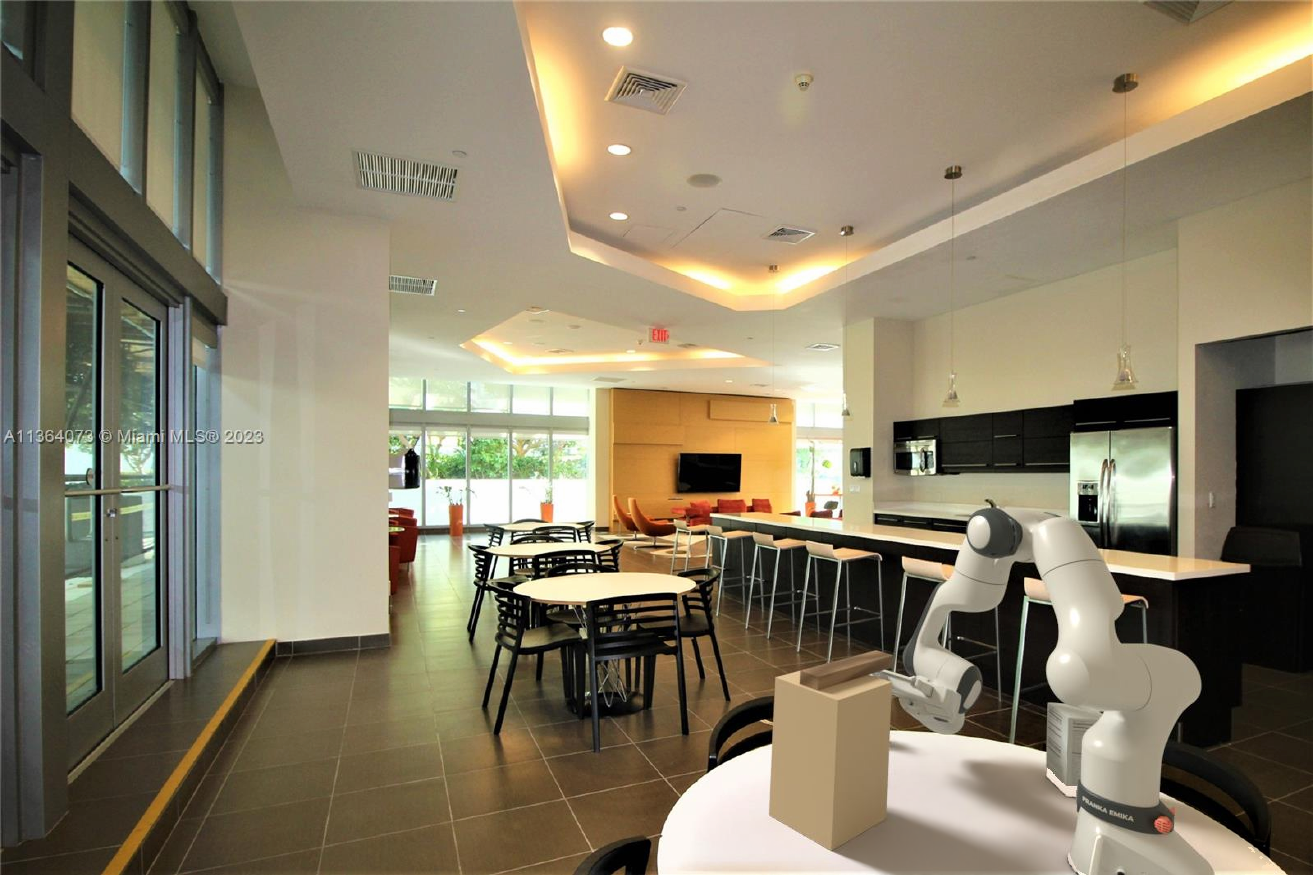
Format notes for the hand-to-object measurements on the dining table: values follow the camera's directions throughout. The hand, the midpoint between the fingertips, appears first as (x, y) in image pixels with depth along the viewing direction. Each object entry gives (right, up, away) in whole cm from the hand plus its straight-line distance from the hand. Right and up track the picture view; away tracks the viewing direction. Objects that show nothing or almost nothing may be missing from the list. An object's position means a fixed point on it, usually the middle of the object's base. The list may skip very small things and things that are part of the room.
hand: (893, 675), depth 140 cm
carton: (-18, -22, -15) cm, 32 cm away
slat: (-13, +4, -11) cm, 17 cm away
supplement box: (+41, -26, +2) cm, 48 cm away
